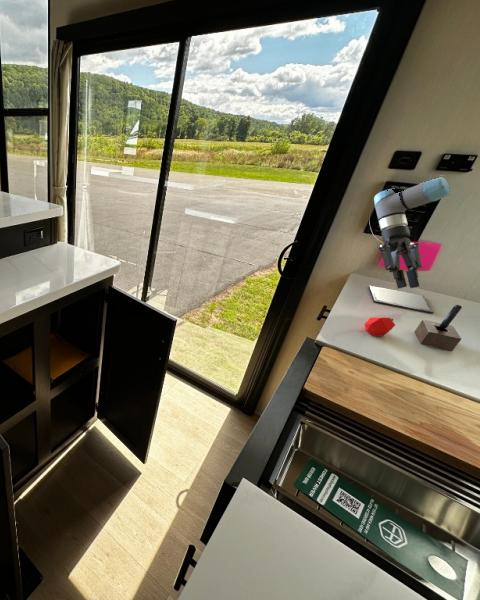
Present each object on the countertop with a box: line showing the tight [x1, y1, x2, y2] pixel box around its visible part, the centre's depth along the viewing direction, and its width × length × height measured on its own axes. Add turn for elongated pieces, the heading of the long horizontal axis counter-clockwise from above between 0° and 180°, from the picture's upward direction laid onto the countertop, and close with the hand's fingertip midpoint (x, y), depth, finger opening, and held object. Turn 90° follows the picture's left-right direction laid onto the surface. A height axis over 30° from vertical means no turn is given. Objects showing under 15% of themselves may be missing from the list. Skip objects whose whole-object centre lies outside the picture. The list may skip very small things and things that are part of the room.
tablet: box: [368, 285, 435, 315], centre depth 123 cm, size 17×13×1 cm
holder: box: [414, 319, 462, 352], centre depth 101 cm, size 7×7×5 cm
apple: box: [364, 316, 396, 337], centre depth 105 cm, size 7×7×8 cm
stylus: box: [437, 304, 463, 331], centre depth 99 cm, size 2×2×14 cm
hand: (408, 287), depth 117 cm, fingers open, 4 cm apart
